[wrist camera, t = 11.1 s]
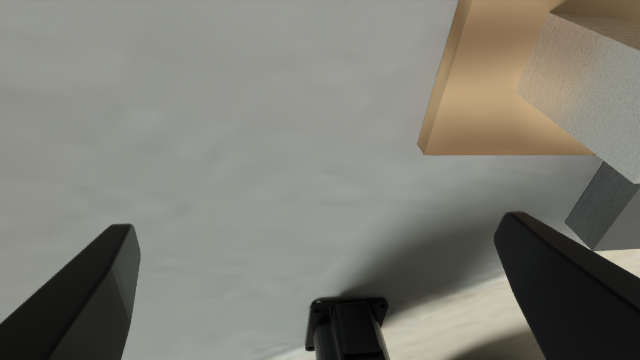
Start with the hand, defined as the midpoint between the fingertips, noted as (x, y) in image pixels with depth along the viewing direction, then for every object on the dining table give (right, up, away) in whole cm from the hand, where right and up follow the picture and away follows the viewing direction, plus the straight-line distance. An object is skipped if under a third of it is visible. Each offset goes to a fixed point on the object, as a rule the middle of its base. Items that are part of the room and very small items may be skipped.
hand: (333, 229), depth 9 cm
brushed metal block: (+12, +7, +10) cm, 18 cm away
